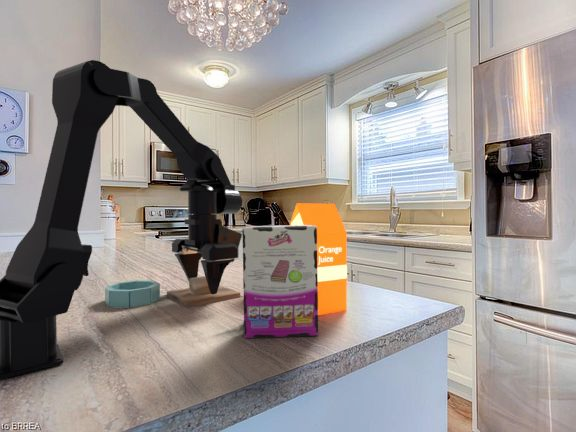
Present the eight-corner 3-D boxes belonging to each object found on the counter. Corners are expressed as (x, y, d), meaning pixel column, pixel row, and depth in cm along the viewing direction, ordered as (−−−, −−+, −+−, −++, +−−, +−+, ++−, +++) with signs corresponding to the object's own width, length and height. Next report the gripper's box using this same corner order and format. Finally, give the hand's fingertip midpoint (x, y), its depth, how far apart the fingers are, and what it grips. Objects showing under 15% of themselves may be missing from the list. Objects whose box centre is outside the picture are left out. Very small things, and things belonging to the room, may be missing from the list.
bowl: (165, 306, 64) (164, 285, 64) (113, 316, 58) (113, 293, 58) (149, 296, 71) (149, 278, 71) (101, 304, 65) (101, 284, 65)
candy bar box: (314, 325, 54) (313, 224, 53) (319, 337, 49) (318, 225, 48) (244, 327, 53) (244, 224, 53) (242, 339, 48) (242, 226, 48)
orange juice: (286, 306, 64) (286, 203, 64) (324, 300, 68) (324, 204, 68) (307, 317, 57) (306, 202, 57) (347, 310, 61) (347, 203, 61)
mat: (243, 301, 68) (243, 296, 68) (187, 313, 60) (187, 308, 60) (215, 290, 77) (215, 286, 77) (163, 300, 69) (163, 295, 69)
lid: (240, 296, 68) (240, 278, 68) (189, 306, 60) (189, 286, 60) (214, 287, 76) (214, 270, 76) (167, 295, 69) (166, 277, 69)
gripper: (261, 214, 66) (261, 291, 66) (215, 213, 80) (216, 277, 81) (210, 214, 59) (211, 301, 59) (170, 214, 73) (171, 284, 73)
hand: (203, 289), depth 68 cm, fingers open, 9 cm apart
